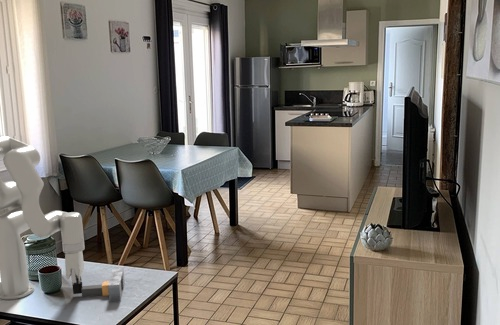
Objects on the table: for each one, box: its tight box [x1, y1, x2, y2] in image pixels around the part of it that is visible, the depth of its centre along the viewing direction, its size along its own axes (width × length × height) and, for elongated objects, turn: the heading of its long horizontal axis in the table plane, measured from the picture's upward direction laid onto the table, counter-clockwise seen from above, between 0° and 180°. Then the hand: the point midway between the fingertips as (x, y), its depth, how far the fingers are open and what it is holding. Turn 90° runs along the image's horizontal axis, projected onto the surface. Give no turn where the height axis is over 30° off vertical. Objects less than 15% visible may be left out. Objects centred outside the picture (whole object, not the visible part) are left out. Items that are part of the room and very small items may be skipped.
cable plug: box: [81, 280, 109, 298], centre depth 188 cm, size 12×4×4 cm, turn 99°
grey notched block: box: [108, 267, 125, 303], centre depth 189 cm, size 4×16×6 cm, turn 9°
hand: (78, 292), depth 187 cm, fingers closed
